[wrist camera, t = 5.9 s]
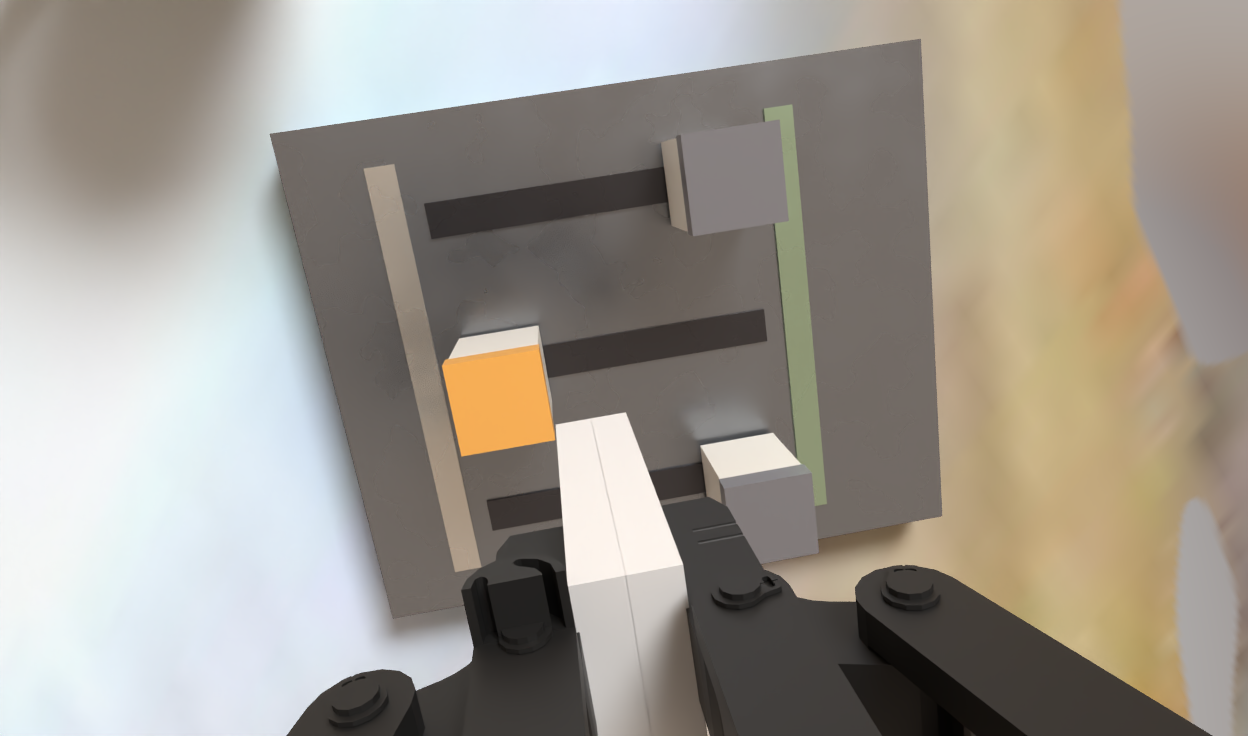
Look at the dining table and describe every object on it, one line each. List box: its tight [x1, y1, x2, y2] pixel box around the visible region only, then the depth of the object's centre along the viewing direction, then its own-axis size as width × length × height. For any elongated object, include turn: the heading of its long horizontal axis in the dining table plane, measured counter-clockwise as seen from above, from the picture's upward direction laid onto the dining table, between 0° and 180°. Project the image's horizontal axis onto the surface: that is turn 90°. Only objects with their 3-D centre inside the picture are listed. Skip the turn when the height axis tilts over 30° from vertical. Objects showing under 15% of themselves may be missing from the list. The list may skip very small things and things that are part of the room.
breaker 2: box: [700, 433, 819, 564], centre depth 27 cm, size 3×3×4 cm
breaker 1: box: [661, 119, 789, 236], centre depth 24 cm, size 3×3×4 cm
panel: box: [270, 39, 942, 618], centre depth 29 cm, size 22×18×2 cm
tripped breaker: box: [442, 325, 555, 457], centre depth 25 cm, size 3×3×4 cm
